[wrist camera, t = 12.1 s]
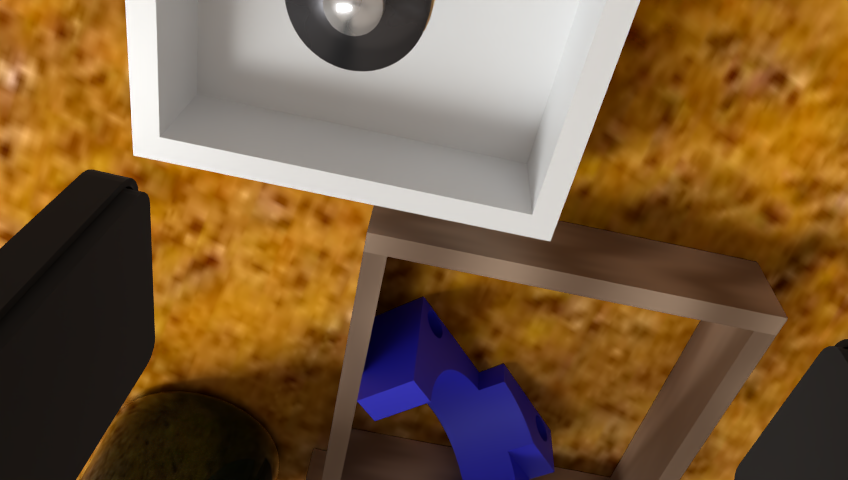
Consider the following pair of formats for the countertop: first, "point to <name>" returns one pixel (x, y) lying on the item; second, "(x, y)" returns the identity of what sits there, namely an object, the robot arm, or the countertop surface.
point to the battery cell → (360, 29)
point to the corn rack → (316, 465)
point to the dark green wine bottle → (183, 442)
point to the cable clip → (454, 396)
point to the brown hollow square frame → (585, 276)
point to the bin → (383, 104)
